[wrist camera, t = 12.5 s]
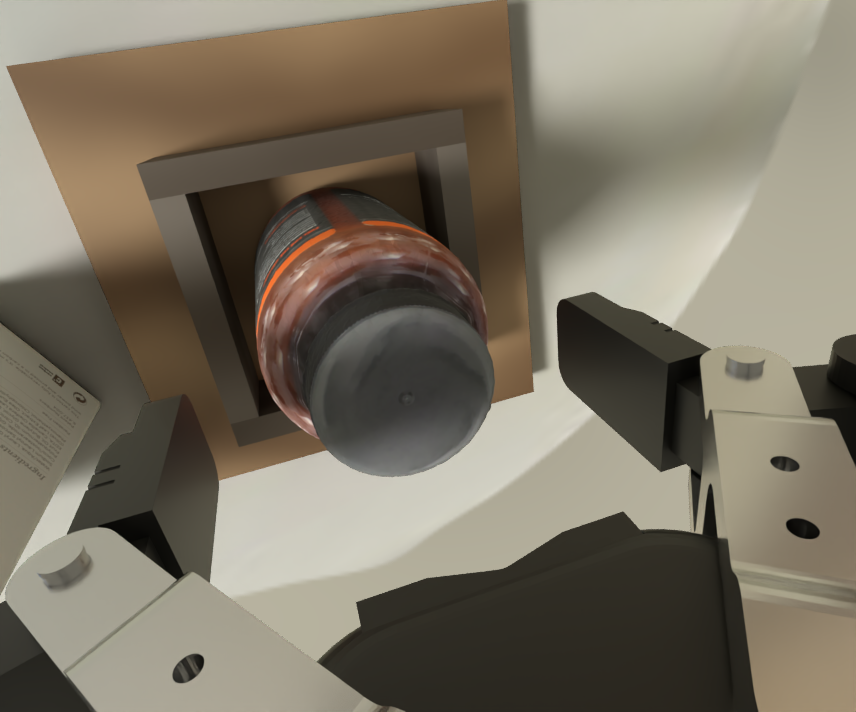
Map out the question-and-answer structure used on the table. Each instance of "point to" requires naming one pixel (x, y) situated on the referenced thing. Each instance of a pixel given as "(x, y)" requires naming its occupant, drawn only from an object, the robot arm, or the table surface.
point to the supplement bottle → (370, 333)
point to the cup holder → (280, 186)
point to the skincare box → (33, 440)
